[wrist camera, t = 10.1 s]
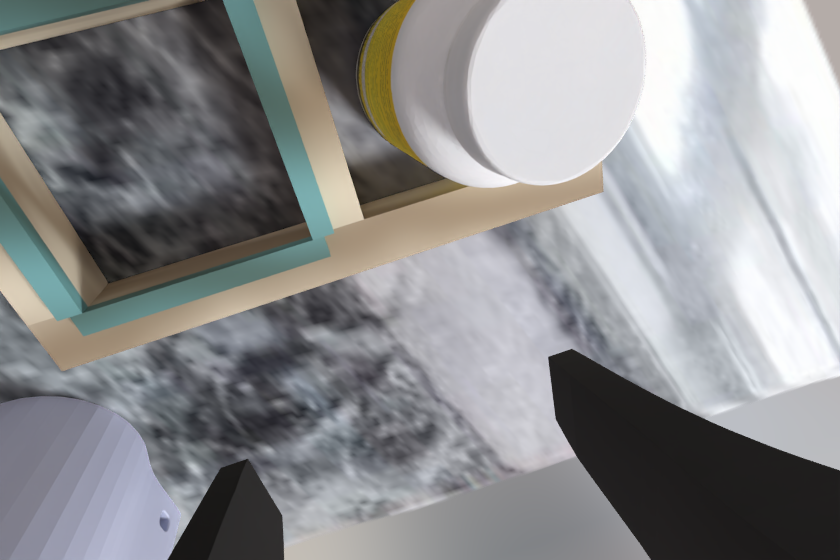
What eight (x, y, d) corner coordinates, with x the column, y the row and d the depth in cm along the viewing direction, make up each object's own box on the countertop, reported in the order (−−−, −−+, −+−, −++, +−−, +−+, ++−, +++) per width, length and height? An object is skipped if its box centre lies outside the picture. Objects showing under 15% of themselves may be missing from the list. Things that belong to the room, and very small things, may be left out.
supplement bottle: (370, 165, 18) (445, 244, 9) (338, 10, 16) (399, -74, 7) (495, 138, 19) (667, 187, 10) (483, -12, 17) (694, -111, 8)
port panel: (576, 182, 21) (610, 194, 19) (84, 342, 18) (55, 379, 16) (551, -156, 15) (594, -195, 13) (-161, -2, 12) (-258, -19, 10)
